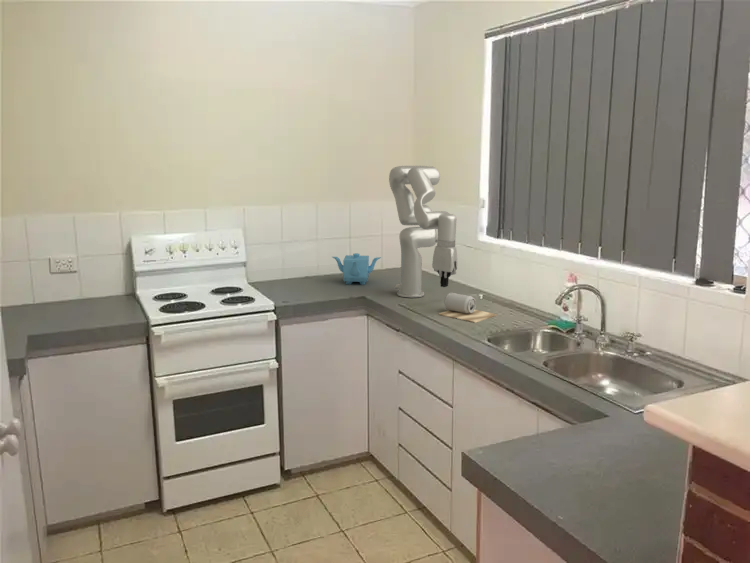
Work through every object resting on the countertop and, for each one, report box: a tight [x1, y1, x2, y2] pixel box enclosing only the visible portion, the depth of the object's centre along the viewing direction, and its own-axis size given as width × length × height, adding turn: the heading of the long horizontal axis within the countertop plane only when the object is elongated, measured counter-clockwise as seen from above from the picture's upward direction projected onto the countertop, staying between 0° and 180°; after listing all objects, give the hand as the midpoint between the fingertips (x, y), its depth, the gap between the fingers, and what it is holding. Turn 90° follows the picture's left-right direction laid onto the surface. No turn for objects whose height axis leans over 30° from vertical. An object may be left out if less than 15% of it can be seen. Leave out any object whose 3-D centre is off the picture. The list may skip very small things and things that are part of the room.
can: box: [444, 292, 477, 314], centre depth 280 cm, size 8×8×12 cm
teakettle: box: [332, 252, 382, 286], centre depth 338 cm, size 19×19×15 cm
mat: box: [438, 309, 498, 324], centre depth 278 cm, size 18×16×1 cm
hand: (444, 286), depth 284 cm, fingers closed
